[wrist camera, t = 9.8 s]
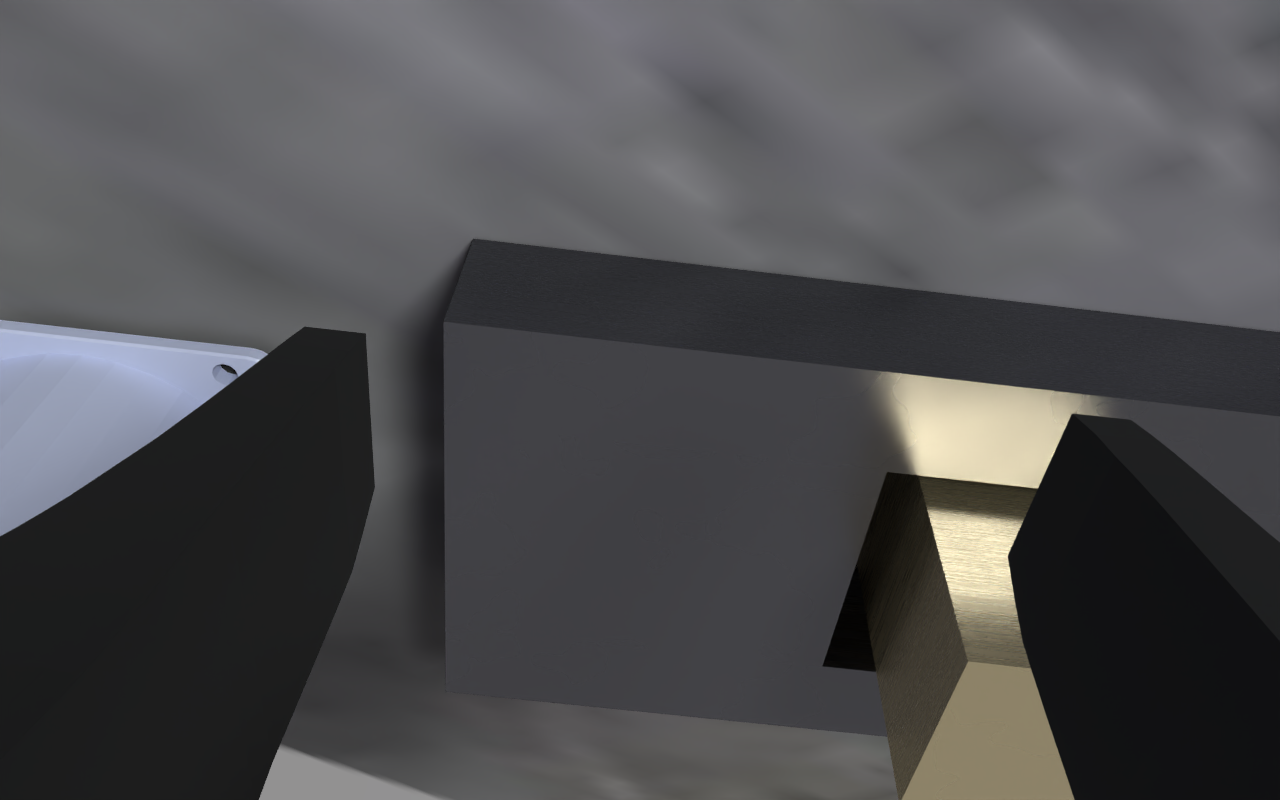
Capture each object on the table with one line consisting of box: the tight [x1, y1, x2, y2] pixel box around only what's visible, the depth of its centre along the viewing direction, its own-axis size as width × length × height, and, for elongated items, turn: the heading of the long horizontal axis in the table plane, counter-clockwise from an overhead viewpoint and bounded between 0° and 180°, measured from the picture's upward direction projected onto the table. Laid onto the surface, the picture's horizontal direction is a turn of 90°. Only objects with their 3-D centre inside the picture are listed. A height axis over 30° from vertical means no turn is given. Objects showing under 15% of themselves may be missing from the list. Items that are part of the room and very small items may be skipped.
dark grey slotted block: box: [443, 239, 1280, 737], centre depth 22 cm, size 22×10×3 cm, turn 84°
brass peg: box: [857, 472, 1074, 800], centre depth 20 cm, size 4×4×7 cm
